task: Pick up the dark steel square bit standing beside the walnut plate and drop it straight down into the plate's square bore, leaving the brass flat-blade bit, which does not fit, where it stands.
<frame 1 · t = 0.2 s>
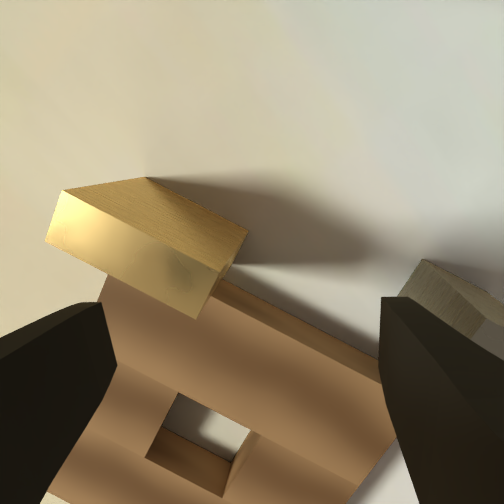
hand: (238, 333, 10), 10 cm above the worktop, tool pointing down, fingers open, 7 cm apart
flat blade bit: (188, 220, 20), on the worktop
square bit: (433, 305, 19), on the worktop
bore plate: (211, 415, 23), on the worktop
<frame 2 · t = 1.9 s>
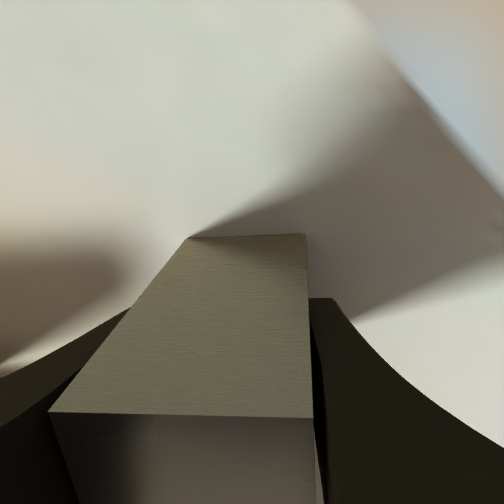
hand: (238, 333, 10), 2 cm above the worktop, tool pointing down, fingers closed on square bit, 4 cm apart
square bit: (249, 290, 12), on the worktop, touching gripper
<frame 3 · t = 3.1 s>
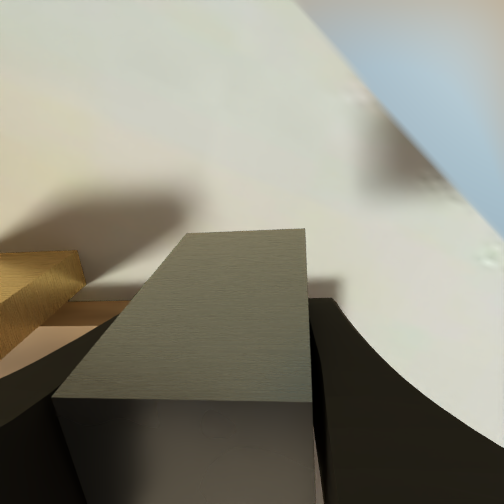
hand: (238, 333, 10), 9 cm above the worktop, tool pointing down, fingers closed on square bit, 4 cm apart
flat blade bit: (30, 269, 21), on the worktop
square bit: (249, 284, 12), point 7 cm above the worktop, touching gripper
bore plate: (166, 415, 24), on the worktop
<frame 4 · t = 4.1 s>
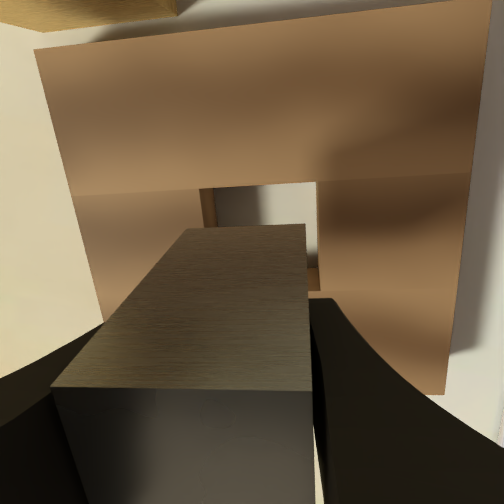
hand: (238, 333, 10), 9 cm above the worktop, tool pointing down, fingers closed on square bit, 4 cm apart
square bit: (249, 280, 12), point 7 cm above the worktop, touching gripper
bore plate: (266, 223, 19), on the worktop
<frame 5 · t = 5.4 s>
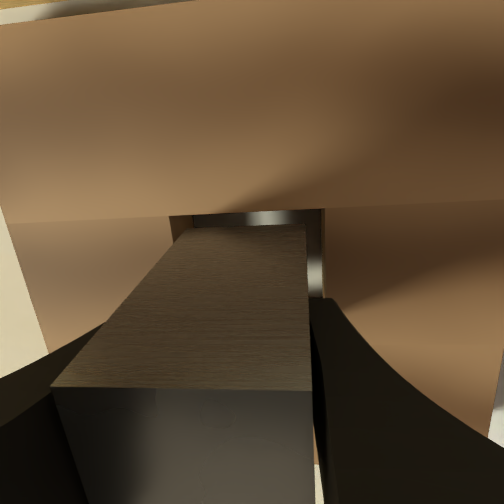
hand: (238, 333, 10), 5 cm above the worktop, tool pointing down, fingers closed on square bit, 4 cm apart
square bit: (249, 280, 12), point 3 cm above the worktop, touching gripper
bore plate: (258, 254, 15), on the worktop
when the fingers open (3 cm above the worktop, at t = 6.3 s): square bit stays where it is, resting in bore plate.
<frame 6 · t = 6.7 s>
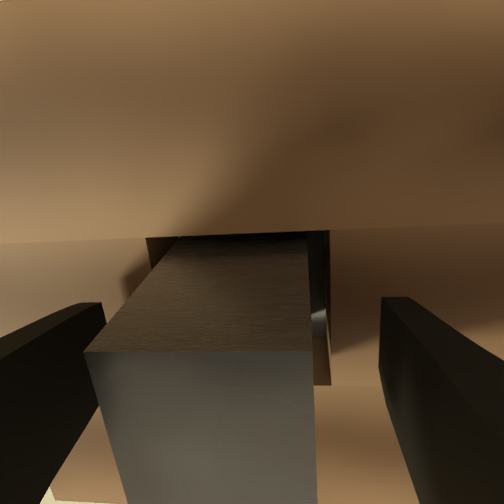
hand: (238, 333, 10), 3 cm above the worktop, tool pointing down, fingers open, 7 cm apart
square bit: (253, 269, 13), resting in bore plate
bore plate: (253, 276, 13), on the worktop
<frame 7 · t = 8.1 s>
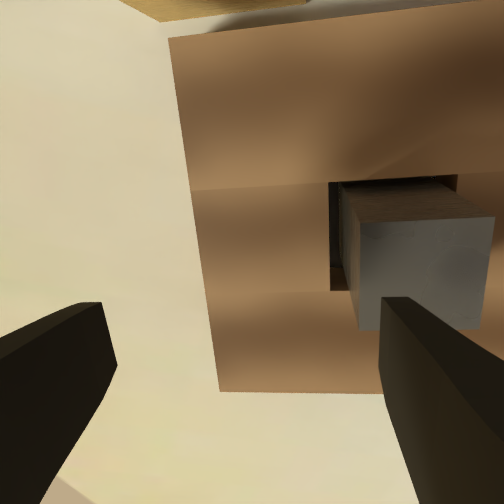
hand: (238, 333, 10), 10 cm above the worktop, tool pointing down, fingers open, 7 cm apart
square bit: (378, 213, 18), resting in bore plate
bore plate: (377, 219, 18), on the worktop
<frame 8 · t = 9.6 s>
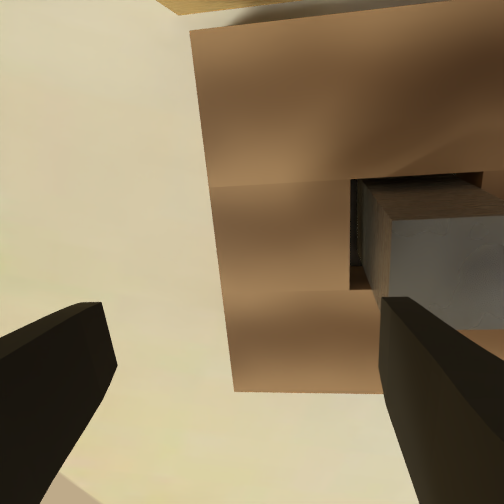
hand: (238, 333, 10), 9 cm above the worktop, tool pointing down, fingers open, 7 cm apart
square bit: (397, 211, 18), resting in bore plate
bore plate: (396, 217, 18), on the worktop
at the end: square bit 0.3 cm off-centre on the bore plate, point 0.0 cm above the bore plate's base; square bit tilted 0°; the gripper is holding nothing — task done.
